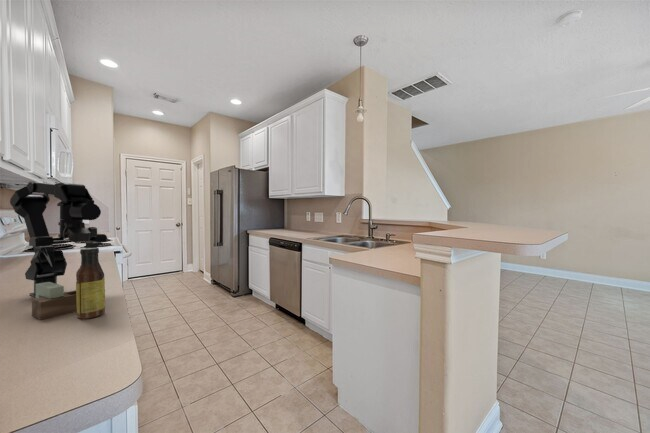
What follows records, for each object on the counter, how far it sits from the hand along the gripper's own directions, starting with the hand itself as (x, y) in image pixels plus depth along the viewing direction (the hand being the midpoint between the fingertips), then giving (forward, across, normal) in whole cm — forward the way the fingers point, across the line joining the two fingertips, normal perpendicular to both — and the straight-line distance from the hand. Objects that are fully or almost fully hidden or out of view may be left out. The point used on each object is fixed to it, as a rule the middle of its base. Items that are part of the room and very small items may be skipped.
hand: (71, 264), depth 90 cm
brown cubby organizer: (+12, -6, -13) cm, 19 cm away
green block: (+12, -8, -9) cm, 17 cm away
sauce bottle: (+12, -4, -24) cm, 27 cm away
